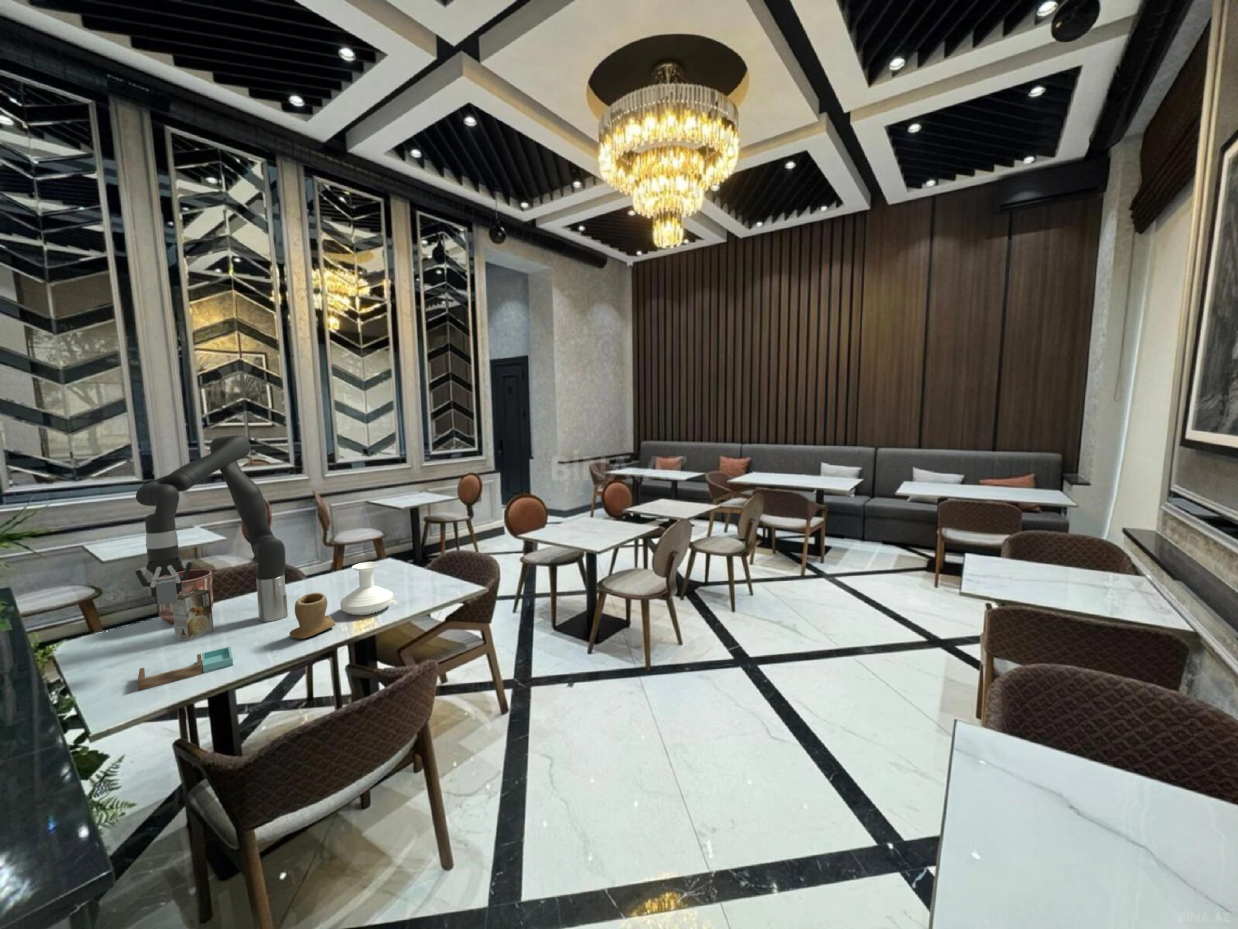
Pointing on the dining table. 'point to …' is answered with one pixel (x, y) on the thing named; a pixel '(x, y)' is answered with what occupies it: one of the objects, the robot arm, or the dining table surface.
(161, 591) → the chamfered grey block
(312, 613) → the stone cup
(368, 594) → the white vase
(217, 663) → the teal tray
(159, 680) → the walnut bay
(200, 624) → the coffee box
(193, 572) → the pottery
